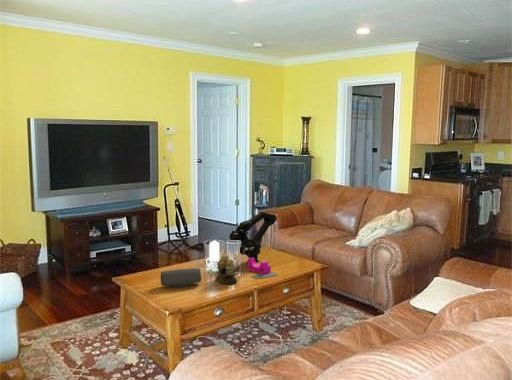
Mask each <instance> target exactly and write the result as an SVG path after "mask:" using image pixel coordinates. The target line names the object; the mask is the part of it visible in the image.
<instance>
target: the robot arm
mask: <svg viewBox="0 0 512 380" xmlns="http://www.w3.org/2000/svg"><path fill="white" fill-rule="evenodd" d="M262 220H263V223H262V224H261V225H260V227H259V229H258V230H257V232H256V234H255V235H254V237H253V238H252V239H251V238H249V236H248V235H249V231H250V230H251V229H252V227H253V226H254V225H255V224H257V223H259V222H260V221H262ZM275 222H277V216H276V214H272V213H268V212H265V211H259V212H258V213H257V214H256V215H254V216H253V217H251V218H249V219H248V220H244V221H242V222H240V223H239V225H238V226H237V228H236V229H235V230H232V231H231V232H230V233H229V235H228V238H229V240H230V241H231V240H238V241H240V246H239V247H240V253H239V254H240V255H242V256H243V255H245V256H246V257H247V258H248V259H249V258H255V262H256V263H258V262H260V260H259V259H258V257H259V255H260V254H261V249H262V245H261V244H260V242H261V240H262V238H263V237H264V236H265V234H266V232H267V231H268V229H269V228H270V226H273V225H274V224H275ZM238 241H237V242H238Z"/></svg>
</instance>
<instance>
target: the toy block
mask: <svg viewBox="0 0 512 380" xmlns="http://www.w3.org/2000/svg"><path fill="white" fill-rule="evenodd" d="M247 262H248V264H247V266H248V270H249V271H252V272H255V273H259V274H267V273H271V272H272V269H271V267H272V266H271V265H269V262H268V261H266V260H264V261H261V262H260V263H257V262H255V258H248V259H247Z"/></svg>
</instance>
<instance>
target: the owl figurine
mask: <svg viewBox="0 0 512 380" xmlns="http://www.w3.org/2000/svg"><path fill="white" fill-rule="evenodd" d="M234 262H235V261H234V260H233V258H230V257H229V255H228V254H224V255H222V256H221V258H220V259H219V260H218V262H217V270H218V273H220V274H218V275H217V276H216V277H215V281H216V282H217V283H218V284H221V285H225V286H229V285H230V286H231V285H235V284H237V283H238V279H237V278H236V277H235V276H236V275H237V273H236V271H237V270H236V269H237V268H236V266H235V264H234ZM229 277H230V278H229Z"/></svg>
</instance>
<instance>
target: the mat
mask: <svg viewBox="0 0 512 380" xmlns="http://www.w3.org/2000/svg"><path fill="white" fill-rule="evenodd" d="M278 276H279V275H278V274H277V273H275V272H272V271H271V273H267V274H261V273H259V274H254V275H251V277H252V278H254V279H255V280H261V279H264V278H265V279H266V278H270V277H271V278H273V277H278Z"/></svg>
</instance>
